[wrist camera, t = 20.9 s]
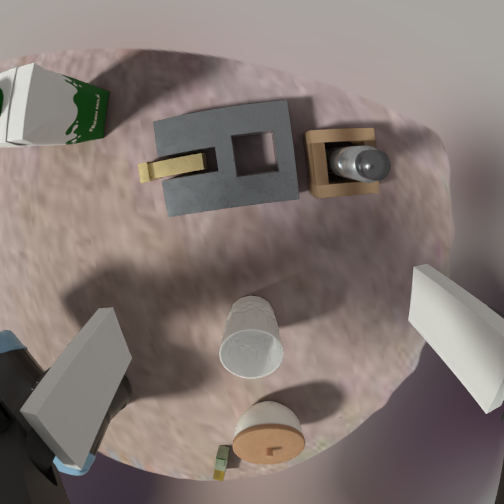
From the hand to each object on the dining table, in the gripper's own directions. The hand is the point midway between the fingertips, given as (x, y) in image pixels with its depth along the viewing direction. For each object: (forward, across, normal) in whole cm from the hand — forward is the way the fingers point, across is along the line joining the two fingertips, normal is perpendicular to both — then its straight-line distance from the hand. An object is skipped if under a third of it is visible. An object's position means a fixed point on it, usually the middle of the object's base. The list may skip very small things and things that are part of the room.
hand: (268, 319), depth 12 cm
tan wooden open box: (+28, +12, +5) cm, 31 cm away
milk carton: (+29, -22, +18) cm, 40 cm away
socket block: (+28, -1, +7) cm, 29 cm away
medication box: (+30, -14, -56) cm, 65 cm away
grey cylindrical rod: (+28, +12, +5) cm, 31 cm away
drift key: (+29, -9, +7) cm, 31 cm away
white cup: (+29, -2, -16) cm, 33 cm away
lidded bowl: (+29, -2, -39) cm, 49 cm away
